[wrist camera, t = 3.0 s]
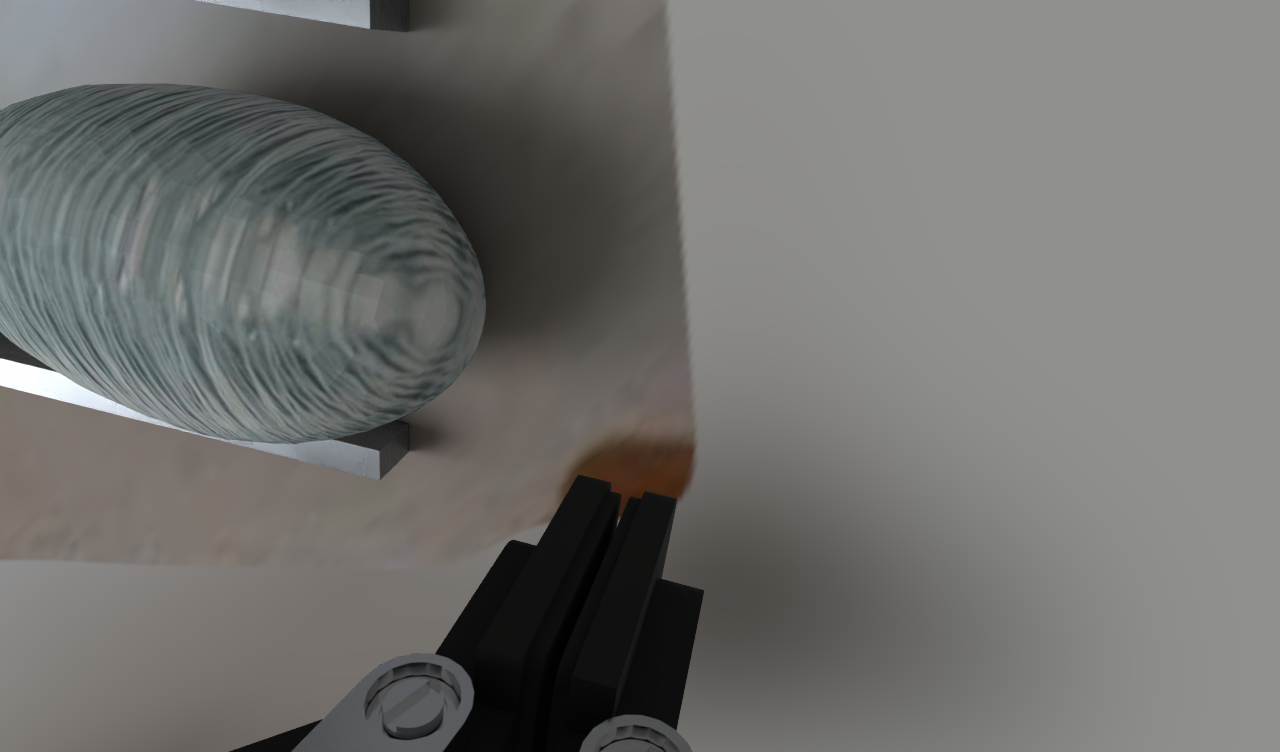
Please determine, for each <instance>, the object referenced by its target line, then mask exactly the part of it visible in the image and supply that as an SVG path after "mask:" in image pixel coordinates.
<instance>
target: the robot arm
mask: <svg viewBox="0 0 1280 752" xmlns="http://www.w3.org/2000/svg"><path fill="white" fill-rule="evenodd" d="M620 502H621V494H619V493H615V492H611V482H607V481H603V480H599V479H595V478H591V477H587V476H583V475H578V476H577V478H576V479H575V481H574V483H573V484H572V486H571V488H570V489H569V491H568V493H567V495H566V496H565V498H564V500H563V501H562V503H561V505H560V507H559V508H558V510H557V512H556V513H555V515H554V517H553V519H552V520H551V522H550V524H549V525H548V527H547V529H546V531H545V532H544V534H543V536H542V537H541V539H540V541H539V543H538V544H537V546H535V545H531V544H528V543H524V542H520V541H516V540H511V541H509V542H508V544H507V545H506V546H505V547H504V549H503V550H502V552H501V554H500V555H499V557H498V558H497V560H496V561H495V563H494V564H493V566H492V567H491V569H490V570H489V572H488V573H487V575H486V577H485V578H484V580H483V581H482V583H481V584H480V586H479V587H478V589H477V590H476V592H475V593H474V595H473V596H472V598H471V600H470V601H469V603H468V604H467V606H466V607H465V609H464V610H463V612H462V614H461V615H460V616H459V618H458V619H457V621H456V623H455V624H454V626H453V627H452V629H451V630H450V632H449V633H448V635H447V637H446V638H445V639H444V641H443V643H442V644H441V646H440V647H439V649H438V650H437V652H436V653H435V654H432V653H430V654H429V653H414V654H409V655H403V656H399V657H396V658H393V659H391V660H389V661H387V662H384V663H382V664H380V665H379V666H377V667H376V668H375V669H374V670H372V671H371V672H370V673H368V674H367V675H366V676H365V677H364V678H363V679H362V680H361V681H360V682H359V683H358V684H357V685H356V686H355V687H354V688H353V689H352V690H351V691H350V692H349V693H348V694H347V695H346V696H345V697H344V698H343V699H342V700H341V701H340V702H339V703H338V704H337V705H336V706H335V708H334V709H333V710H332V711H331V712H330V713H329V714H328V715H327V716H326V717H325V718H324V719H322V720H319V721H316V722H313V723H310V724H307V725H305V726H302V727H299V728H296V729H293V730H290V731H287V732H284V733H281V734H279V735H276V736H273V737H270V738H267V739H264V740H262V741H258V742H256V743H253V744H250V745H247V746H244V747H241V748H239V749H235V750H233V751H230V752H692V750H691V748H690V746H689V744H688V743H687V742H686V741H685V739H684V738H683V737H682V736H681V735H680V734H679V733H678V732H677V731H676V730H677V724H678V719H679V714H680V709H681V704H682V699H683V694H684V689H685V684H686V679H687V674H688V669H689V664H690V659H691V654H692V648H693V644H694V639H695V634H696V629H697V624H698V619H699V614H700V609H701V604H702V599H703V594H704V590H701V589H697V588H693V587H690V586H686V585H682V584H678V583H674V582H671V581H667V580H663V579H661V578H662V573H663V568H664V563H665V558H666V553H667V548H668V544H669V538H670V534H671V529H672V524H673V519H674V514H675V509H676V503H677V499H675V498H671V497H667V496H663V495H659V494H655V493H651V492H647V491H645V492H644V494H643V496H642V499H639V498H635V497H630V498H629V500H628V503H627V505H626V507H625V510H624V512H623V514H622V517H621V519H620V521H619V524H618V526H617V521H618V515H619V508H620ZM616 527H617V528H616Z"/></svg>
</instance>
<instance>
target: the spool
mask: <svg viewBox="0 0 1280 752" xmlns="http://www.w3.org/2000/svg"><path fill="white" fill-rule="evenodd" d="M485 312H486V298H485V289H484V280H483V275H482V271H481V268H480V265H479V262H478V259H477V256H476V253H475V251H474V249H473V247H472V245H471V243H470V241H469V239H468V237H467V235H466V234H465V232H464V231H463V229H462V227H461V226H460V224H459V223H458V221H457V220H456V218H455V217H454V215H453V214H452V212H451V211H450V209H449V208H448V207H447V205H446V204H445V203H444V201H443V200H442V199H441V197H440V196H439V195H438V193H437V192H436V191H435V190H434V189H433V188H432V187H431V186H430V185H429V184H428V183H427V182H426V181H425V180H424V179H423V178H422V177H421V175H420V174H419V173H418V172H417V171H416V170H415V169H414V168H413V167H412V166H411V165H410V164H408V163H407V162H406V161H404V160H403V159H402V158H400V157H399V156H397V155H396V154H395V153H393V152H392V151H391V150H390V149H388V148H387V147H386V146H385V145H384V144H382V143H381V142H380V141H379V140H377V139H375V138H373V137H371V136H369V135H367V134H365V133H364V132H362V131H360V130H358V129H355V128H353V127H351V126H349V125H347V124H345V123H343V122H341V121H339V120H337V119H335V118H333V117H330V116H328V115H326V114H324V113H322V112H319V111H316V110H313V109H310V108H307V107H304V106H301V105H298V104H296V103H292V102H288V101H284V100H280V99H276V98H272V97H268V96H262V95H256V94H250V93H244V92H239V91H231V90H223V89H216V88H209V87H202V86H192V85H176V84H105V85H83V86H78V87H74V88H69V89H64V90H60V91H56V92H53V93H49V94H45V95H41V96H38V97H34V98H31V99H28V100H25V101H21V102H18V103H15V104H12V105H10V106H8V107H6V108H5V109H3V110H1V111H0V332H1V333H2V334H3V335H5V336H6V337H7V338H8V339H9V340H10V341H11V342H13V343H14V344H16V345H17V346H18V347H20V348H21V349H23V350H24V351H26V352H27V353H29V354H30V355H32V356H33V357H35V358H37V359H38V360H40V361H41V362H43V363H44V364H46V365H47V366H49V367H50V368H52V369H54V370H55V371H57V372H59V373H60V374H62V375H63V376H65V377H67V378H68V379H70V380H72V381H73V382H75V383H76V384H78V385H80V386H81V387H83V388H85V389H87V390H90V391H92V392H94V393H96V394H98V395H100V396H102V397H104V398H107V399H109V400H111V401H114V402H116V403H118V404H120V405H123V406H125V407H127V408H130V409H132V410H134V411H136V412H138V413H141V414H143V415H145V416H147V417H150V418H154V419H158V420H160V421H163V422H165V423H168V424H170V425H173V426H175V427H179V428H182V429H185V430H189V431H192V432H196V433H199V434H203V435H207V436H212V437H217V438H222V439H226V440H237V441H250V442H262V443H273V444H299V443H304V442H313V441H324V440H332V439H336V438H340V437H344V436H348V435H352V434H357V433H361V432H366V431H368V430H371V429H373V428H376V427H379V426H381V425H384V424H386V423H389V422H392V421H394V420H397V419H399V418H401V417H403V416H405V415H407V414H409V413H411V412H413V411H415V410H417V409H419V408H421V407H422V406H424V405H425V404H427V403H428V402H430V401H431V400H433V399H434V398H436V397H437V396H438V395H439V394H441V393H442V392H443V391H444V390H446V389H447V388H448V387H449V386H451V384H452V383H453V382H454V381H455V380H456V378H457V377H458V376H459V375H460V373H461V372H462V371H463V369H464V368H465V367H466V365H467V364H468V363H469V362H470V360H471V358H472V356H473V354H474V352H475V350H476V348H477V346H478V343H479V340H480V337H481V334H482V330H483V325H484V321H485Z"/></svg>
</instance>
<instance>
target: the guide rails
mask: <svg viewBox="0 0 1280 752" xmlns="http://www.w3.org/2000/svg"><path fill="white" fill-rule="evenodd" d="M196 1H202V2H209V3H215V4H221V5H227V6H233V7H239V8H245V9H251V10H258V11H264V12H270V13H276V14H282V15H288V16H294V17H300V18H307V19H313V20H319V21H325V22H331V23H337V24H343V25H349V26H356V27H362V28H368V29H377V30H388V31H400V32H408V0H196ZM0 385H1V386H5V387H9V388H13V389H17V390H21V391H25V392H29V393H33V394H37V395H41V396H45V397H49V398H53V399H57V400H61V401H65V402H69V403H73V404H77V405H81V406H85V407H89V408H93V409H97V410H101V411H105V412H109V413H113V414H117V415H121V416H125V417H129V418H133V419H137V420H141V421H145V422H149V423H153V424H157V425H161V426H165V427H169V428H173V429H177V430H181V431H185V432H189V433H193V434H197V435H201V436H205V437H209V438H213V439H217V440H221V441H225V442H229V443H233V444H237V445H241V446H245V447H249V448H253V449H257V450H261V451H265V452H269V453H273V454H277V455H281V456H285V457H289V458H293V459H297V460H301V461H305V462H309V463H313V464H317V465H321V466H325V467H329V468H333V469H337V470H341V471H345V472H349V473H353V474H357V475H361V476H365V477H369V478H373V479H377V480H381V479H382V478H383V477H384V476H385V475H386V474H387V473H388V472H389V471H390V470H391V469H392V468H393V467H394V466H395V465H396V464H397V463H398V462H399V461H400V460H401V459H402V458H403V457H404V456H405V455H406V454H407V453H408V452H409V424H406V423H402V422H398V421H392V422H389V423H386V424H384V425H381V426H379V427H376V428H373V429H371V430H368V431H366V432H361V433H357V434H352V435H348V436H344V437H340V438H336V439H332V440H324V441H313V442H304V443H299V444H273V443H262V442H250V441H237V440H226V439H222V438H217V437H212V436H207V435H203V434H199V433H196V432H192V431H189V430H185V429H182V428H179V427H175V426H173V425H170V424H168V423H165V422H163V421H160V420H158V419H154V418H150V417H147V416H145V415H143V414H141V413H138V412H136V411H134V410H132V409H130V408H127V407H125V406H123V405H120V404H118V403H116V402H114V401H111V400H109V399H107V398H104V397H102V396H100V395H98V394H96V393H94V392H92V391H90V390H87V389H85V388H83V387H81V386H80V385H78V384H76V383H75V382H73V381H72V380H70V379H68V378H67V377H65V376H63V375H62V374H60V373H59V372H57V371H55V370H54V369H52V368H50V367H49V366H47V365H46V364H44V363H43V362H41V361H40V360H38V359H37V358H35V357H33V356H32V355H30V354H29V353H27V352H26V351H24V350H23V349H21V348H20V347H18V346H17V345H16V344H14V343H13V342H11V341H10V340H9V339H8V338H7V337H6V336H5V335H3V334H2V333H1V332H0Z"/></svg>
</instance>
